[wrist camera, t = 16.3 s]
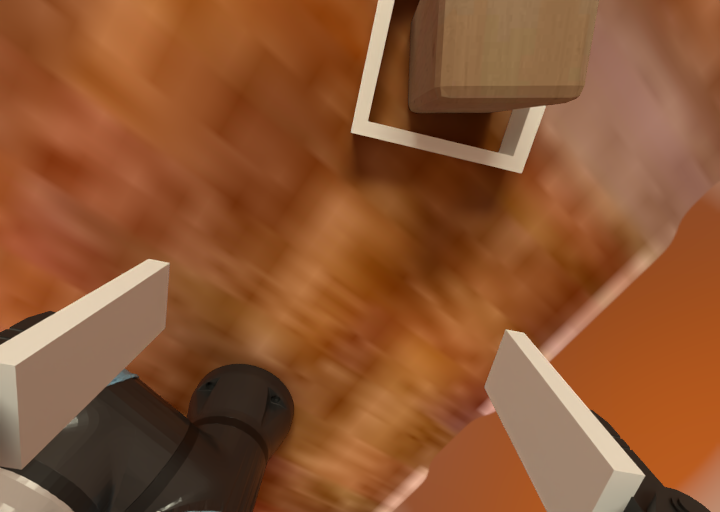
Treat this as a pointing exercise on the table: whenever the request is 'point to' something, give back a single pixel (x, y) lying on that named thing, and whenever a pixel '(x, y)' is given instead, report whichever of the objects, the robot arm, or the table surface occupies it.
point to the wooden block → (498, 54)
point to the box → (507, 158)
